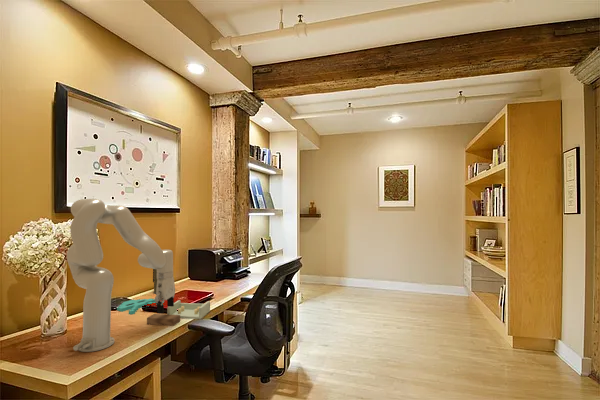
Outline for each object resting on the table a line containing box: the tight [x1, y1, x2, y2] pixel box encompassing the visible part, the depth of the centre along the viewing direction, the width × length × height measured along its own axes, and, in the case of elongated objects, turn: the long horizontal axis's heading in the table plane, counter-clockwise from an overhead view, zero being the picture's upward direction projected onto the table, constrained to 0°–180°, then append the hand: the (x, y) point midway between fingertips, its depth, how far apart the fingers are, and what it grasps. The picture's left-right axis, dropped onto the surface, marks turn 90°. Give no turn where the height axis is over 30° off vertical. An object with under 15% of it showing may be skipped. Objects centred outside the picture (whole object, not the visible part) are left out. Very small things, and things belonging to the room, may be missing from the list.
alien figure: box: [116, 298, 165, 316], centre depth 178 cm, size 20×2×20 cm
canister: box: [152, 269, 158, 295], centre depth 210 cm, size 11×10×20 cm
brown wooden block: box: [146, 313, 181, 327], centre depth 153 cm, size 14×6×4 cm, turn 82°
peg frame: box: [166, 299, 211, 320], centre depth 165 cm, size 12×18×6 cm, turn 85°
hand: (165, 309), depth 154 cm, fingers open, 9 cm apart
